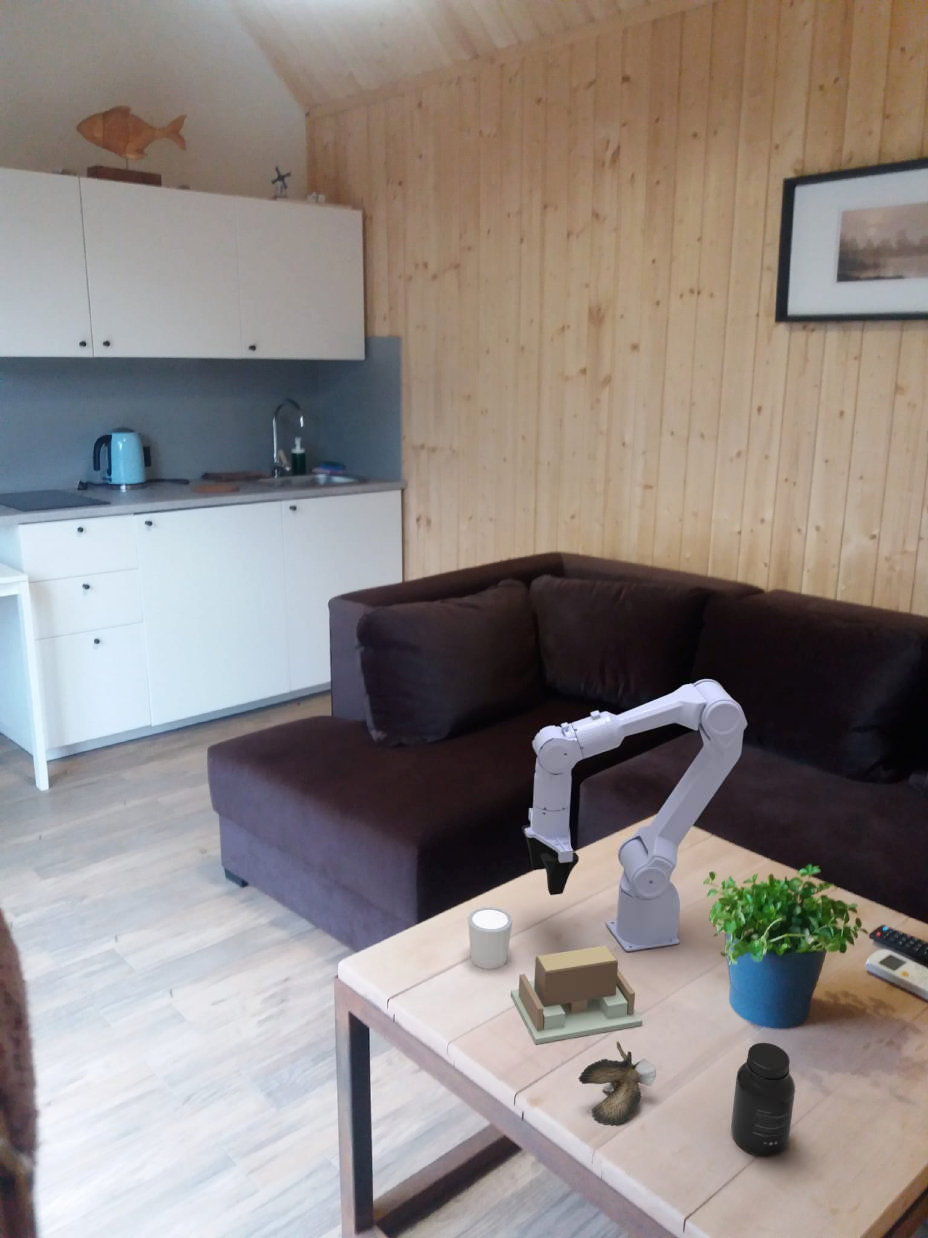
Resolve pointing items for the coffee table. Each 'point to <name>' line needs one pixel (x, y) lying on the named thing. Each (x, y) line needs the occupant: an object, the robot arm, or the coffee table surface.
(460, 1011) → the coffee table surface
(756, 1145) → the supplement bottle
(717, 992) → the coffee table surface
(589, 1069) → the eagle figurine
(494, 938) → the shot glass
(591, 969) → the tan rectangular box
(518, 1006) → the display cradle
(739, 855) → the coffee table surface
